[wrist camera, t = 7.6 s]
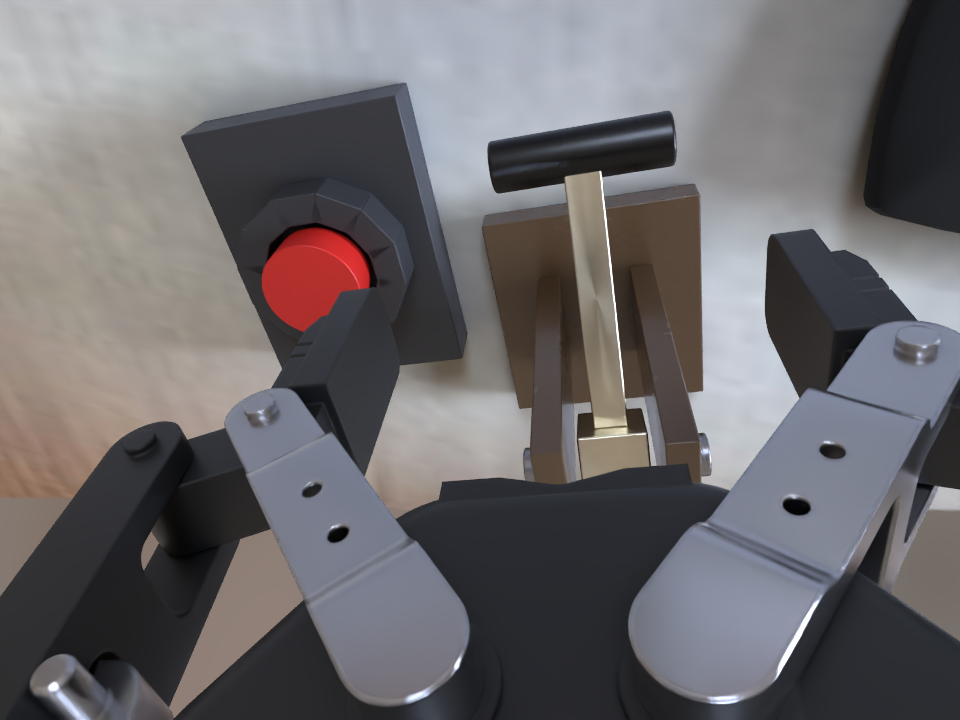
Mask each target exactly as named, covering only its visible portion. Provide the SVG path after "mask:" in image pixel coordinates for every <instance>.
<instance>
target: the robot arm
mask: <svg viewBox="0 0 960 720" xmlns="http://www.w3.org/2000/svg"><path fill="white" fill-rule="evenodd" d="M765 317H766V324H767V329H768V332H769V335H770V338H771V340H772V342H773V344H774V346H775V348H776V350H777V352H778V354H779V356H780V358H781V361H782V363H783V365H784V367H785V369H786V371H787V373H788V375H789V377H790V379H791V381H792V384H793V386H794V388H795V390H796V392H797V394H798V396H799V398H800V399H799V400H798V401H797V403H796V404H795V405H794V407H793V408H792V409H791V411H790V412H789V413H788V415H787V416H786V417H785V419H784V420H783V421H782V423H781V424H780V425H779V427H778V428H777V429H776V431H775V432H774V433H773V435H772V436H771V437H770V439H769V440H768V441H767V443H766V444H765V445H764V447H763V448H762V449H761V451H760V452H759V453H758V455H757V456H756V457H755V459H754V460H753V461H752V463H751V464H750V465H749V467H748V468H747V469H746V471H745V472H744V473H743V475H742V476H741V477H740V479H739V480H738V481H737V483H736V484H735V485H734V487H733V488H732V489H731V491H730V490H727V489H723V488H720V487H717V486H712V485H708V484H703V483H696V482H692V480H691V476H690V471H689V467H688V464H676V465H662V466H649V467H635V468H624V469H620V470H616V471H612V472H608V473H605V474H601V475H597V476H593V477H590V478H586V479H582V480H578V481H575V482H571V483H567V484H559V485H557V484H547V483H539V482H531V481H523V480H515V479H507V478H488V479H474V480H461V481H448V482H442V486H441V491H440V496H439V500H437V501H433V502H430V503H428V504H425V505H422V506H420V507H417V508H415V509H413V510H411V511H409V512H407V513H405V514H404V515H402V516H400V517H399V518H397V519H395V518H394V517H393V515H392V514H391V513H390V511H389V510H388V508H387V507H386V506H385V504H384V503H383V502H382V500H381V499H380V497H379V496H378V495H377V493H376V492H375V491H374V489H373V488H372V486H371V485H370V484H369V482H368V481H367V480H366V478H365V477H364V476H365V473H366V470H367V467H368V464H369V462H370V459H371V456H372V453H373V450H374V447H375V444H376V441H377V438H378V435H379V432H380V429H381V426H382V423H383V420H384V417H385V414H386V411H387V408H388V405H389V402H390V399H391V396H392V393H393V390H394V387H395V384H396V381H397V378H398V375H399V368H400V361H399V352H398V348H397V344H396V341H395V338H394V335H393V332H392V329H391V326H390V322H389V319H388V316H387V313H386V310H385V307H384V304H383V300H382V297H381V295H380V293H379V291H378V290H377V289H376V288H375V287H371V288H364V289H357V290H349V291H342V292H341V293H340V294H339V296H338V297H337V299H336V301H335V303H334V305H333V306H332V308H331V310H330V312H329V314H328V315H326V316H321V317H320V318H319V319H318V320H316V321H315V322H314V323H313V324H312V325H310V326H309V327H308V328H307V329H306V330H305V331H304V333H303V335H302V337H301V338H300V340H299V342H298V343H297V345H298V346H297V347H295V349H294V350H293V352H292V354H291V355H290V356H291V358H289V359H288V360H287V362H286V364H285V366H284V367H283V369H282V371H281V372H280V374H279V376H278V378H277V379H276V381H275V383H274V384H273V386H272V388H271V389H267V390H263V391H260V392H257V393H255V394H253V395H251V396H249V397H247V398H245V399H244V400H242V401H241V402H239V403H238V404H237V405H235V406H234V407H233V408H232V409H231V411H230V412H229V413H228V415H227V416H226V419H225V422H224V426H225V428H224V429H221V430H218V431H215V432H211V433H208V434H205V435H202V436H198V437H195V438H192V439H189V440H187V438H186V437H185V435H184V433H183V432H182V430H181V428H180V427H179V425H178V424H176V423H173V422H166V421H164V422H156V423H152V424H148V425H145V426H143V427H140V428H138V429H136V430H134V431H132V432H130V433H129V434H127V435H125V436H124V437H122V438H121V439H120V440H119V441H117V442H116V443H115V444H114V445H113V446H112V447H111V448H110V449H109V451H108V452H107V453H106V455H105V456H104V457H103V459H102V460H101V461H100V463H99V464H98V465H97V467H96V468H95V469H94V471H93V472H92V473H91V475H90V476H89V477H88V479H87V480H86V482H85V483H84V484H83V486H82V487H81V488H80V490H79V491H78V492H77V494H76V495H75V496H74V498H73V499H72V500H71V502H70V503H69V505H68V506H67V507H66V509H65V510H64V511H63V513H62V514H61V515H60V517H59V518H58V519H57V521H56V522H55V524H54V525H53V526H52V528H51V529H50V530H49V532H48V533H47V534H46V536H45V537H44V538H43V540H42V541H41V542H40V544H39V545H38V546H37V548H36V549H35V551H34V552H33V553H32V554H31V556H30V557H29V559H28V560H27V561H26V563H25V564H24V566H23V567H22V568H21V569H20V571H19V572H18V573H17V575H16V576H15V578H14V579H13V580H12V582H11V583H10V584H9V586H8V587H7V588H6V590H5V591H4V592H3V594H2V595H1V597H0V720H960V641H959V640H957V639H956V638H954V637H953V636H951V635H950V634H949V633H947V632H945V631H944V630H943V629H941V628H940V627H938V626H937V625H935V624H934V623H932V622H931V621H930V620H928V619H927V618H925V617H924V616H922V615H921V614H920V613H918V612H917V611H915V610H914V609H912V608H911V607H909V606H908V605H907V604H905V603H903V602H902V601H900V600H899V599H898V598H896V597H895V596H893V595H892V594H891V593H892V590H893V587H894V584H895V581H896V578H897V575H898V572H899V570H900V567H901V565H902V563H903V560H904V559H905V556H906V554H907V552H908V550H909V548H910V546H911V544H912V542H913V540H914V538H915V536H916V534H917V532H918V530H919V527H920V525H921V523H922V521H923V519H924V517H925V515H926V513H927V511H928V509H929V507H930V505H931V503H932V501H933V499H934V497H935V494H936V492H937V490H938V487H939V486H941V487H947V488H954V489H960V333H958V332H956V331H955V330H952V329H950V328H948V327H945V326H942V325H939V324H934V323H930V322H923V321H917V319H916V318H915V317H914V316H913V315H912V313H911V312H910V311H909V310H908V309H907V307H906V306H905V305H904V304H903V303H902V302H901V300H900V299H899V298H898V297H897V296H896V294H895V293H894V292H893V291H892V290H889V286H888V285H887V284H886V283H885V281H884V280H883V279H882V278H879V274H878V273H877V272H876V271H875V270H874V268H873V267H872V266H871V265H870V264H869V262H868V261H866V260H864V259H862V258H860V257H858V256H856V255H854V254H852V253H850V252H848V251H846V250H841V251H833V252H831V251H830V250H829V249H828V247H827V246H826V245H825V244H824V242H823V241H822V240H821V238H820V237H819V236H818V234H817V233H816V232H815V231H814V230H813V229H808V230H801V231H793V232H786V233H778V234H771V235H770V237H769V240H768V247H767V268H766V291H765ZM269 529H271V530H272V532H273V534H274V537H275V539H276V541H277V543H278V545H279V547H280V549H281V551H282V554H283V556H284V558H285V560H286V562H287V564H288V566H289V569H290V571H291V573H292V575H293V577H294V579H295V581H296V584H297V586H298V588H299V590H300V592H301V594H302V596H303V598H304V600H303V601H302V602H301V603H300V604H299V605H298V606H297V607H295V608H294V609H293V610H292V611H291V612H290V613H289V614H288V615H287V616H286V617H284V618H283V619H282V620H281V621H280V622H279V623H278V624H277V625H276V626H274V627H273V628H272V629H271V630H270V631H269V632H268V633H267V634H266V635H265V636H264V637H263V638H261V639H260V640H259V641H258V642H257V643H256V644H255V645H254V646H252V647H251V648H250V649H249V650H248V651H247V652H246V653H245V654H244V655H242V656H241V657H240V658H239V659H238V660H237V661H236V662H235V663H234V664H233V665H232V666H230V667H229V668H228V669H227V670H226V671H225V672H224V673H223V674H221V675H220V676H219V677H218V678H217V679H216V680H215V681H214V682H213V683H212V684H210V685H209V686H208V687H207V688H206V689H205V690H204V691H203V692H202V693H200V694H199V695H198V696H197V697H196V698H195V699H194V700H193V701H192V702H191V703H189V704H188V705H187V706H186V707H185V708H184V709H183V710H182V711H181V712H180V713H179V714H178V715H177V716H176V717H175V718H173V715H172V712H171V710H170V709H169V706H170V703H171V701H172V699H173V696H174V694H175V692H176V690H177V687H178V685H179V683H180V680H181V678H182V676H183V673H184V671H185V669H186V666H187V664H188V662H189V659H190V657H191V655H192V652H193V650H194V648H195V645H196V643H197V641H198V638H199V636H200V633H201V631H202V629H203V627H204V624H205V622H206V619H207V617H208V615H209V612H210V610H211V608H212V605H213V603H214V601H215V598H216V596H217V593H218V591H219V589H220V586H221V584H222V582H223V579H224V577H225V575H226V573H227V570H228V568H229V565H230V563H231V561H232V559H233V556H234V554H235V551H236V549H237V547H238V544H239V541H240V539H241V538H244V537H247V536H251V535H254V534H257V533H260V532H263V531H266V530H269ZM150 532H152V533H153V535H154V536H155V538H156V539H157V541H158V542H159V544H158V546H157V548H156V550H155V552H154V554H153V555H152V557H151V559H150V561H149V563H148V564H147V566H146V568H145V570H144V571H143V568H142V564H141V552H142V548H143V545H144V543H145V541H146V539H147V537H148V535H149V534H150Z"/></svg>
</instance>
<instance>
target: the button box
mask: <svg viewBox="0 0 960 720" xmlns="http://www.w3.org/2000/svg"><path fill="white" fill-rule="evenodd" d="M181 138H182V141H183V143H184V145H185V148H186V150H187V152H188V154H189V157H190V159H191V161H192V164H193V166H194V168H195V170H196V173H197V175H198V177H199V180H200V182H201V184H202V186H203V189H204V191H205V193H206V196H207V198H208V200H209V203H210V205H211V207H212V209H213V212H214V214H215V216H216V219H217V221H218V223H219V225H220V228H221V230H222V232H223V235H224V237H225V239H226V241H227V244H228V246H229V248H230V251H231V253H232V255H233V257H234V260H235V262H236V264H237V267H238V271H239V273H240V275H241V278H242V280H243V282H244V285H245V287H246V289H247V291H248V294H249V296H250V298H251V300H252V303H253V304H254V305H255V308H256V310H257V312H258V315H259V317H260V319H261V321H262V324H263V326H264V328H265V331H266V333H267V335H268V337H269V340H270V342H271V344H272V347H273V349H274V351H275V353H276V356H277V358H278V360H279V363H280V365H281V367H282V369H283V367H284V366H285V364H286V362H287V360H288V359H289V358H291V356H290V355H291V354H292V352H293V350H294V349H295V347H297V346H298V345H297V343H298V342H299V340H300V338H301V337H302V335H303V333H304V332H303V331H300V330H298V329H296V328H294V327H292V326H290V325H288V324H287V323H285V322H284V321H283V320H281V319H280V318H279V317H278V316H277V315H276V314H275V313H274V311H273V310H272V309H271V307H270V306H269V304H268V303H267V301H266V299H265V296H264V293H263V289H262V273H263V269H264V267H265V265H266V263H267V261H268V260H269V259H270V257H271V256H272V255H273V254H274V252H275V251H276V250H277V249H278V247H279V246H280V245H281V244H282V242H283V241H284V240H285V239H286V238H287V237H288V236H289V235H291V234H292V233H294V232H296V231H298V230H301V229H305V228H313V227H316V228H325V229H330V230H333V231H335V232H338V233H340V234H342V235H344V236H345V237H347V238H348V239H350V240H351V241H352V242H353V243H354V244H356V246H357V247H358V248H359V249H360V250H361V252H362V253H363V254H364V256H365V258H366V260H367V262H368V265H369V268H370V273H371V284H370V288H371V287H375V288H376V289H377V290H378V291H379V293H380V295H381V297H382V300H383V304H384V307H385V310H386V313H387V316H388V319H389V322H390V326H391V329H392V332H393V335H394V338H395V341H396V344H397V348H398V352H399V361H400V365H408V364H417V363H426V362H435V361H444V360H453V359H461V358H462V357H463V352H464V347H465V342H466V338H467V330H466V326H465V322H464V318H463V314H462V310H461V306H460V302H459V297H458V293H457V289H456V285H455V281H454V277H453V273H452V269H451V265H450V260H449V256H448V252H447V248H446V244H445V240H444V236H443V232H442V228H441V223H440V219H439V215H438V211H437V207H436V203H435V199H434V195H433V191H432V186H431V182H430V178H429V174H428V170H427V166H426V162H425V158H424V154H423V149H422V145H421V141H420V137H419V133H418V129H417V125H416V121H415V117H414V112H413V108H412V104H411V100H410V96H409V92H408V88H407V84H406V83H401V84H395V85H390V86H385V87H380V88H375V89H370V90H365V91H359V92H354V93H349V94H344V95H339V96H334V97H329V98H323V99H318V100H313V101H308V102H303V103H298V104H292V105H287V106H282V107H277V108H272V109H267V110H262V111H256V112H251V113H246V114H241V115H236V116H231V117H226V118H220V119H215V120H210V121H205V122H203V123H202V124H200V125H198V126H197V127H195V128H194V129H192V130H190V131H189V132H187V133H186V134H184V135H182V136H181Z"/></svg>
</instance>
